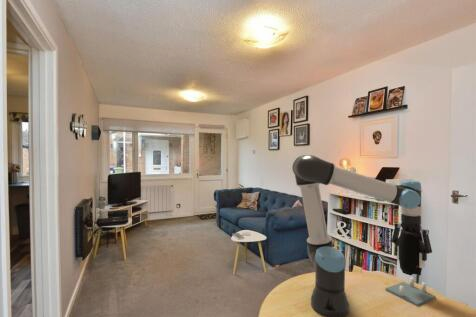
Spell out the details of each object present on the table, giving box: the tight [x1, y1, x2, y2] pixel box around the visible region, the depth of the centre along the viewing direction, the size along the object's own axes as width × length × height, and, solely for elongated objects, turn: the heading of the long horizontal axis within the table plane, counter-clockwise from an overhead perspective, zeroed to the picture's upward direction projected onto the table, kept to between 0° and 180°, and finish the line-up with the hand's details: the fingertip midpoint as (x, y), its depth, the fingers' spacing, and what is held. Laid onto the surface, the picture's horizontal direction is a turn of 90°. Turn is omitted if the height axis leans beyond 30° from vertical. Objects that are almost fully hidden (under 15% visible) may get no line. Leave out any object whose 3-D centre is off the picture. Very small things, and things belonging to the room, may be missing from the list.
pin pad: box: [385, 276, 437, 307], centre depth 115 cm, size 14×14×5 cm
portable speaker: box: [398, 228, 424, 276], centre depth 115 cm, size 9×9×20 cm
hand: (410, 262), depth 115 cm, fingers closed on portable speaker, 9 cm apart
